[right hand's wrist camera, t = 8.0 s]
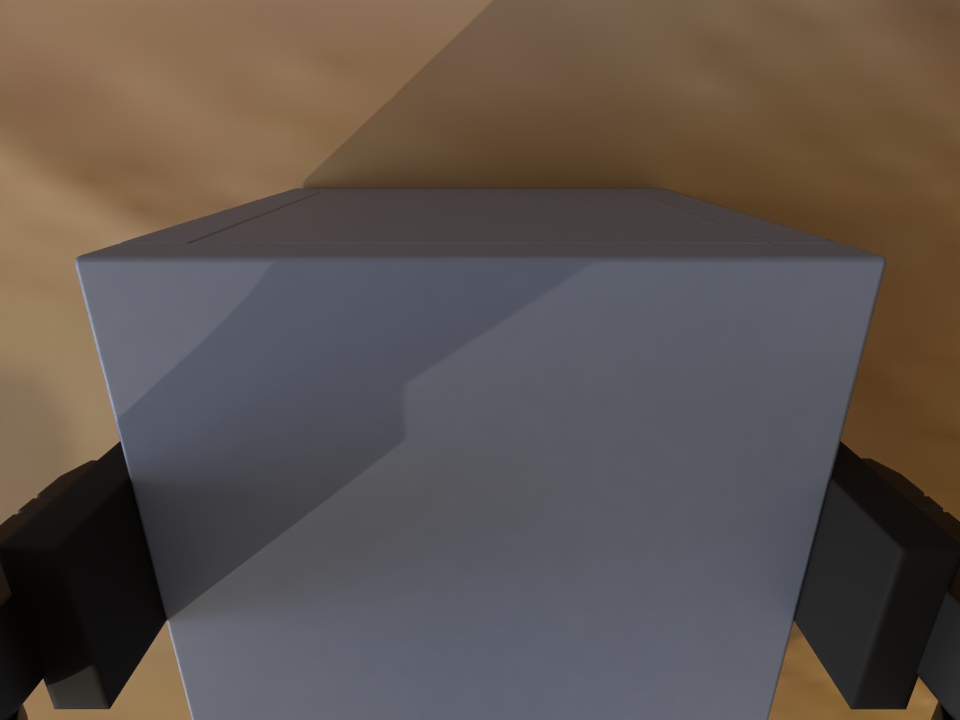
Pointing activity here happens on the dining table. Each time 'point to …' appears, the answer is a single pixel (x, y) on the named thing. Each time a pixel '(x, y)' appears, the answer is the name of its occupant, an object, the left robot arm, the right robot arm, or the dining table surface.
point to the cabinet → (480, 447)
